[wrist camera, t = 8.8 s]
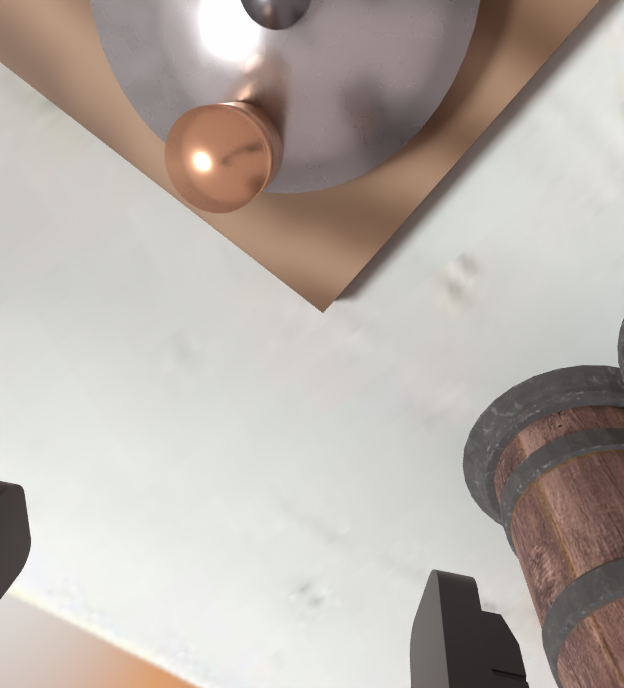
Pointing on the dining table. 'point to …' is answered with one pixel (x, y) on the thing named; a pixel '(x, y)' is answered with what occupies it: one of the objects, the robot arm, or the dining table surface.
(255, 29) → the dial
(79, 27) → the dial base
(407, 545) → the dining table surface
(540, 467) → the tankard
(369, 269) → the dining table surface
